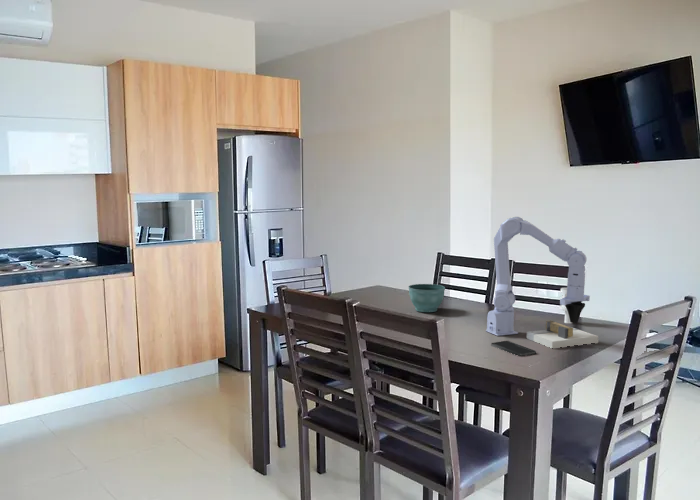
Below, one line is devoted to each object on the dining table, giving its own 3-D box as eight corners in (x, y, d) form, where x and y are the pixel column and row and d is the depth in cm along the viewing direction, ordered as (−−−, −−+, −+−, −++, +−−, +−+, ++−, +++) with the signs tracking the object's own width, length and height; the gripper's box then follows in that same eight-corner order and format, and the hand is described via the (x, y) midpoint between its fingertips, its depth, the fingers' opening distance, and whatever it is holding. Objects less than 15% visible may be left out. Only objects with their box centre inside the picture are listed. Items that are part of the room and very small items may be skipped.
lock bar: (544, 329, 212) (545, 320, 212) (551, 328, 213) (551, 320, 212) (567, 337, 201) (567, 328, 200) (573, 336, 202) (573, 328, 201)
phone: (519, 354, 188) (489, 343, 201) (519, 357, 188) (489, 346, 201) (537, 351, 191) (507, 340, 205) (537, 354, 191) (507, 343, 205)
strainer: (581, 324, 231) (582, 287, 229) (564, 325, 230) (566, 288, 228) (571, 320, 238) (573, 284, 236) (555, 320, 237) (557, 285, 235)
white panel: (552, 348, 197) (552, 331, 196) (526, 338, 210) (527, 322, 209) (598, 343, 204) (599, 326, 203) (570, 333, 217) (571, 317, 216)
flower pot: (413, 305, 266) (413, 282, 265) (448, 308, 261) (448, 284, 259) (403, 312, 252) (404, 288, 250) (440, 316, 246) (440, 291, 244)
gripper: (573, 289, 197) (571, 327, 199) (598, 285, 205) (595, 322, 207) (555, 285, 203) (553, 323, 205) (580, 282, 211) (578, 318, 213)
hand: (573, 322), depth 206 cm, fingers closed
